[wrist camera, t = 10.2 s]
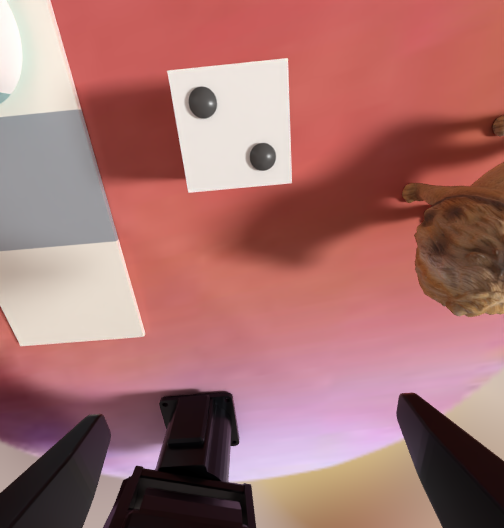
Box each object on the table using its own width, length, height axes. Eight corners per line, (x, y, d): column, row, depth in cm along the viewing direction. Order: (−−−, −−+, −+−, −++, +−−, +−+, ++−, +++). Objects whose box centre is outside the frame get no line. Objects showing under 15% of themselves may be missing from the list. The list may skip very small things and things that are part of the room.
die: (281, 171, 19) (292, 183, 14) (203, 179, 19) (187, 193, 14) (277, 80, 17) (288, 57, 12) (190, 89, 17) (166, 70, 12)
